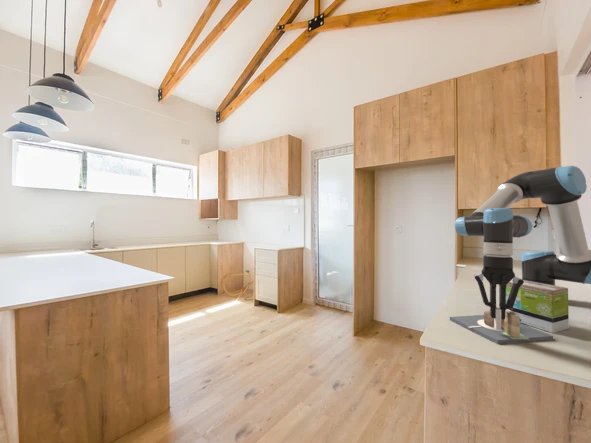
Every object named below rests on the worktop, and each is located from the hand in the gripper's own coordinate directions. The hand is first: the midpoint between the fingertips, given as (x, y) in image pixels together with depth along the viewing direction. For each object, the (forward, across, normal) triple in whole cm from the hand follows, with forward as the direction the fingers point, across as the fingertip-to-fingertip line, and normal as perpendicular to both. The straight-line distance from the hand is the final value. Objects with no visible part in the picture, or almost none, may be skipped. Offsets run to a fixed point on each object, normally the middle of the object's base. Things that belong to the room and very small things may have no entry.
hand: (497, 328), depth 82 cm
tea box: (+3, +15, +21) cm, 26 cm away
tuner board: (+3, +1, +9) cm, 9 cm away
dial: (+1, +3, +5) cm, 6 cm away
